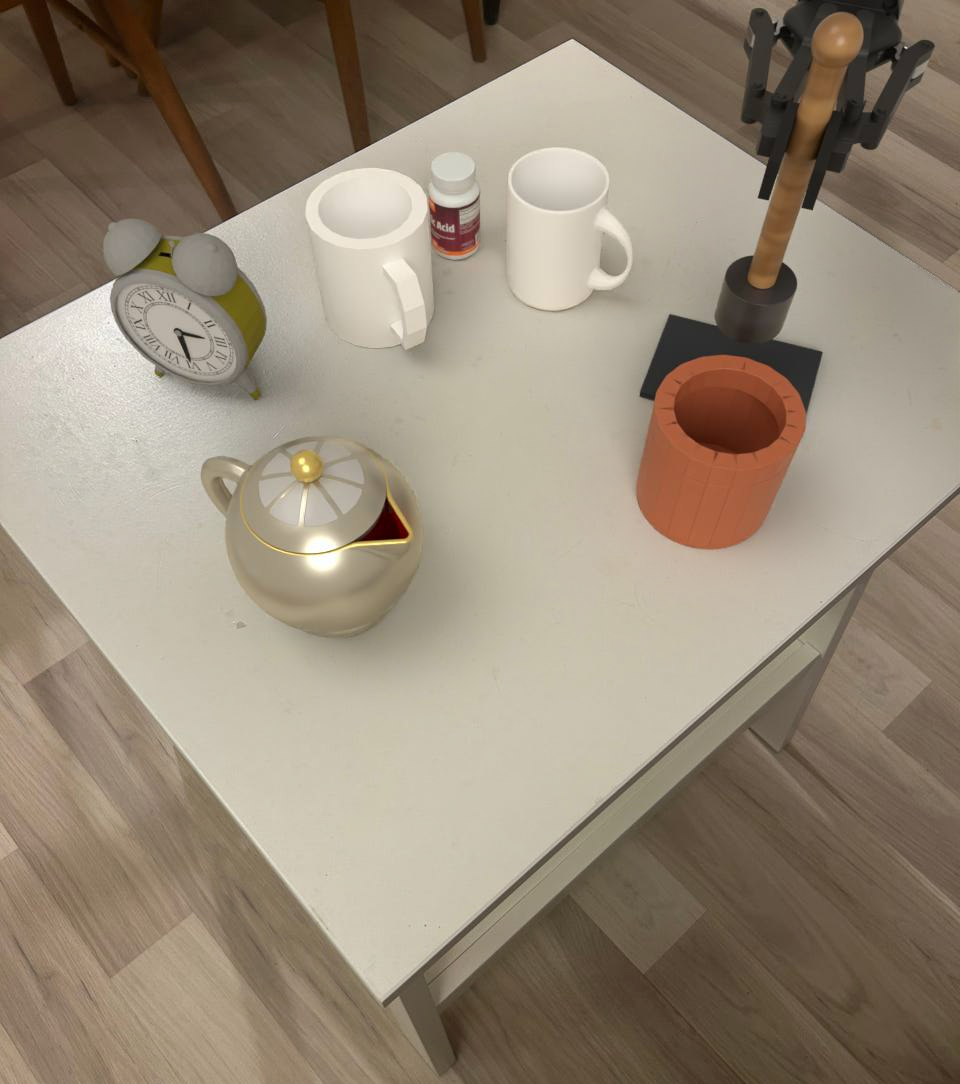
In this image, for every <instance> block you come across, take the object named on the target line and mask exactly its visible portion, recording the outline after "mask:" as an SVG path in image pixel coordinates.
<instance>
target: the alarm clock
mask: <svg viewBox="0 0 960 1084" xmlns="http://www.w3.org/2000/svg"><path fill="white" fill-rule="evenodd" d="M102 243H103V244H102V251H103V258H104V261H105V264H106V266H107V267H108V270H110V271H111V273H112V274H113V275H114V276H117V277H116V279H115V281H114V282H113V284H112V287H111V289H110V295H109V302H110V310H111V312H112V315H113V319H114V321H115V324H116V326H117V327H118V329H119V330H120V332H121V333H122V335H123V337H124V338H125V339H126V340H127V342H128V343H129V344H130V345H131V346H132V347H133V348H134V349H135V350H136V351H137V352H138V353H139V354H140V355H141V356H142V357H143V358H144V359H145V360H147V361H148V362H149V363H151V364H152V365H153V366H154V374H155V376H156V377H159V378H160V377H162V376H164V374H165V373H167V374H169V375H171V376H172V377H175V378H176V379H178V380H181V381H184V382H187V383H189V384H194V385H198V386H204V387H219V386H224V385H229V384H230V383H233V382H235V383H236V384H238V385H239V386H240V387H241V388H242V389H243V390H244V391H245V392H246V393H248V395H249V396H251V397H252V398H253V400H259V399H260V398H261V397H262V393H261V391H260V389H259V387H258V386H257V384H256V383H255V380H254V379H253V377H252V375H251V373H250V370H249V369H248V367H249V364H250V363H251V362H252V359H253V358H254V356H255V354H256V353H257V351H258V349H259V347H260V345H261V343H262V342H263V339H264V337H265V334H266V331H267V324H268V319H267V312H266V308H265V307H266V306H265V305H264V302H263V300H262V297H261V295H260V293H259V291H258V289H257V288H256V286H255V285H254V283H253V282H252V281H251V280H250V278H249V277H248V276H247V274H246V273H245V272H243V270H242V269H241V268H239V265H238V263H237V259H236V256H235V253H234V252H233V250H232V249H231V248H230V246H229V245H228V244H227V243H226V242H225V241H223V240H222V239H220V238H219V237H218V236H215V235H213V234H210V233H205V232H195V233H193V234H190V235H187V236H180V235H162V232H161V231H160V230H159V229H158V228H157V227H156V226H155V225H153V224H152V223H150V222H148V221H146V220H145V219H140V218H124V219H120V220H119V221H117V222H116V221H111V222H110V223H109V224H108V231H107V232H106V234H105V235H104V239H103V242H102Z"/></svg>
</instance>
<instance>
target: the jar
mask: <svg viewBox="0 0 960 1084" xmlns="http://www.w3.org/2000/svg"><path fill="white" fill-rule="evenodd" d="M649 419H650V420H649V423H648V427H647V432H646V438H645V442H644V446H643V450H642V456H641V460H640V463H639V468H638V472H637V473H638V474H637V479H636V487H635V493H636V495H635V496H636V501H637V504H638V506H639V509H640V511H641V513H642V515H643V517H644V518H645V519H646V520H647V522H648V523H649V525H651V527H652V528H653V529H654V530H656V531H657V532H658V533H660V534H661V535H662V536H664V537H665V538H667V539H668V540H670V541H673V542H675V543H677V544H679V545H682V546H686V547H689V548H690V547H691V548H695V549H701V550H702V549H703V550H716V549H717V550H718V549H725V548H728V547H733V546H735V545H738V544H740V543H742V542H744V541H746V540H748V539H749V538H750V537H752V536H753V535H755V533H756V532H758V530H760V528H761V527H762V525H763V524H764V522H765V520H766V519H767V516H768V514H769V512H770V510H771V509H772V506H773V504H774V501H775V500H776V497H777V495H778V492H779V490H780V488H781V486H782V483H783V481H784V479H785V476H786V475H787V472H788V470H789V468H790V466H791V463H792V461H793V459H794V457H795V454H796V452H797V450H798V448H799V445H800V443H801V441H802V439H803V437H804V434H805V432H806V425H807V424H806V423H807V420H806V419H807V414H806V411H805V408H804V405H803V403H802V400H801V397H800V395H799V393H798V392H797V390H796V389H795V388H794V387H793V386H792V384H791V383H790V382H789V381H788V380H787V379H786V378H785V377H784V376H782V375H781V374H779V373H778V372H776V371H775V370H774V369H772V368H771V367H769V366H767V365H765V364H762V363H759V362H757V361H754V360H751V359H749V358H745V357H738V356H730V355H715V356H705V357H700V358H697V359H694V360H691V361H689V362H686V363H683V364H681V365H680V366H678V367H677V368H676V369H674V370H673V371H672V372H670V373H669V374H668V375H667V376H666V377H665V379H664V380H663V382H662V383H661V385H660V387H659V388H658V390H657V392H656V396H655V400H653V404H652V410H651V415H650V418H649Z"/></svg>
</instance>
